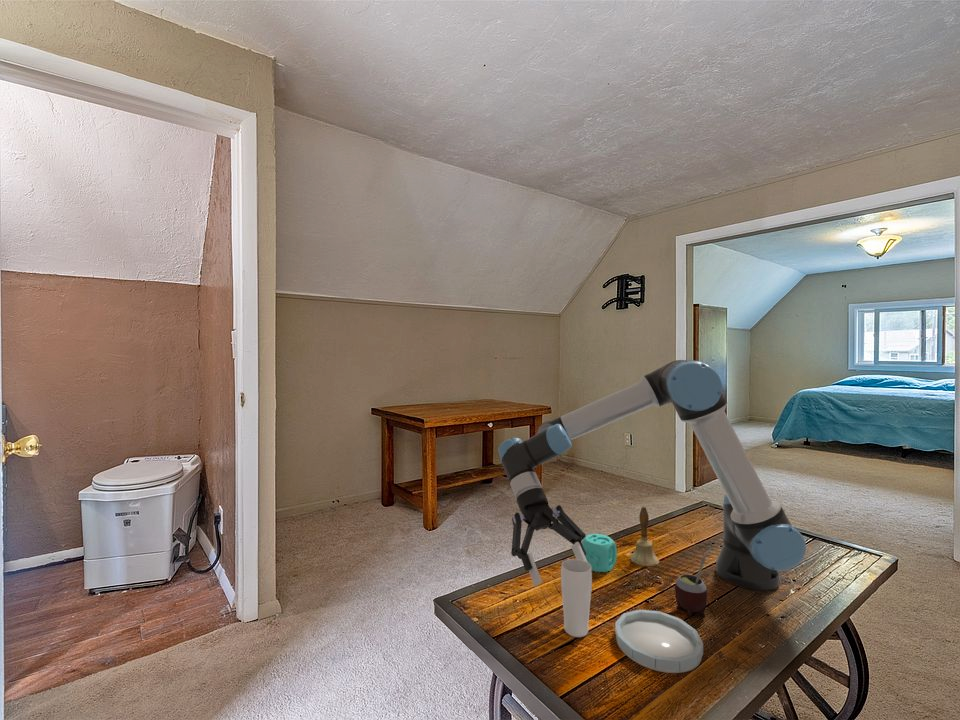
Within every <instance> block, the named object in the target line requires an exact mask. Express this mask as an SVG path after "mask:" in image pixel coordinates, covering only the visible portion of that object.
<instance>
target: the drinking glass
mask: <svg viewBox="0 0 960 720" xmlns="http://www.w3.org/2000/svg"><path fill="white" fill-rule="evenodd" d="M560 568H561V569H560V586H561V598H562V608H563V609H562V610H563V612H562V613H563V628H564V629H563V630H564V631H565V633H566V634H567V635H569V636H571V637H574V638H582V637H583V638H584V637H585V636H586V635H588V633H589V621H590V620H589V619H590V608H591V598H592V590H593V589H592V587H593V585H592V584H593V579H592V578H593V571H592V567H591V565H590V564H589V563H588V562H586V561H584V560H580V559H576V558H569V559H567V558H566V559H565V560H563V561H562V562H561V566H560Z"/></svg>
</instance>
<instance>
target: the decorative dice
mask: <svg viewBox="0 0 960 720" xmlns="http://www.w3.org/2000/svg"><path fill="white" fill-rule="evenodd" d="M581 543H582V545H583V547H584V549H585V552H586V555H585V557H586V559H587V562H588V563H589V564H590V565H591V567H592V572H594V571H595V573H600V572H604V573H608V571H609V572H610V571H612V570H613V568H614V567H615V565H616V562H617V558H618V549H617V544H616V542H615V541H614V539H612V538H611V537H609V536H608V535H605V534H601V533H589V534H588V535H586V537H585V538H584V539H583V540H582V541H581Z"/></svg>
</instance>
